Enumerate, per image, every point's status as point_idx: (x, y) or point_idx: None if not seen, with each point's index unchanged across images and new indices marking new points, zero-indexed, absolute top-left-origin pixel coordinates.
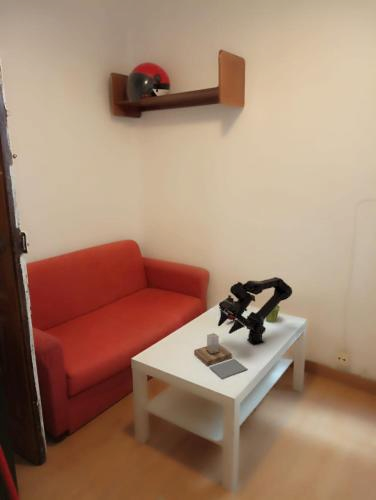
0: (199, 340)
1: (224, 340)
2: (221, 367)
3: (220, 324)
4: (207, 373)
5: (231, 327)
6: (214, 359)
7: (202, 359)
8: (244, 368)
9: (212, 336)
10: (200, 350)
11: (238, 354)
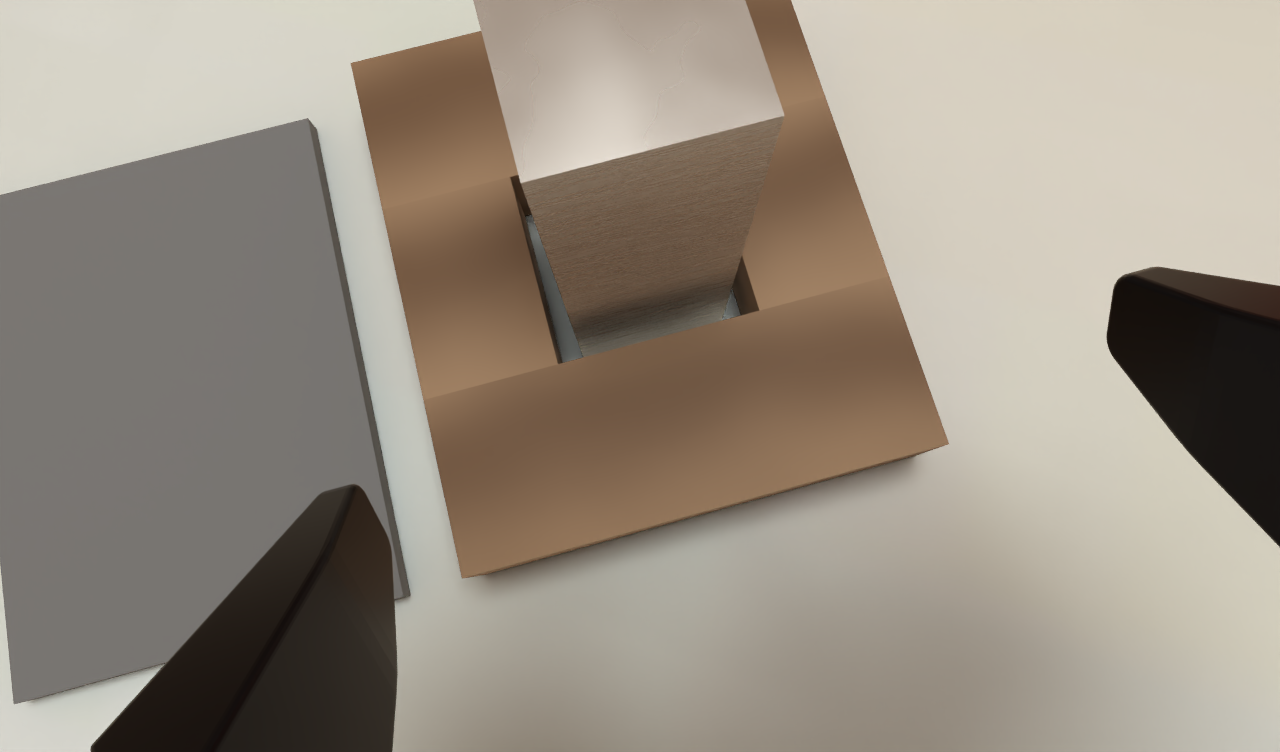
0: (1223, 206)
1: (1157, 667)
2: (231, 289)
3: (1176, 388)
4: (205, 70)
5: (263, 663)
6: (383, 201)
7: None
8: (48, 655)
9: (569, 9)
10: None
11: (564, 746)
